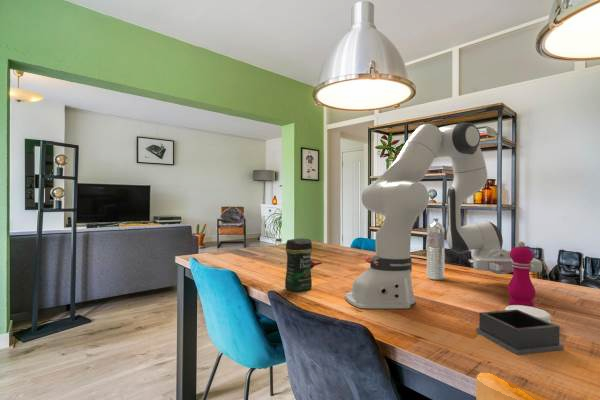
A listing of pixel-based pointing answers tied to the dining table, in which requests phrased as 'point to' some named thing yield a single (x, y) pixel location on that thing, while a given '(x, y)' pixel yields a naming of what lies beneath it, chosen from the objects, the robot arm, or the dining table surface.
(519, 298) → the pepper mill
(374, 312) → the dining table surface
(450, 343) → the dining table surface
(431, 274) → the water bottle
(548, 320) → the coaster
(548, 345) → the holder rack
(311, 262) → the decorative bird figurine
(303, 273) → the coffee jar
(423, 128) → the robot arm
